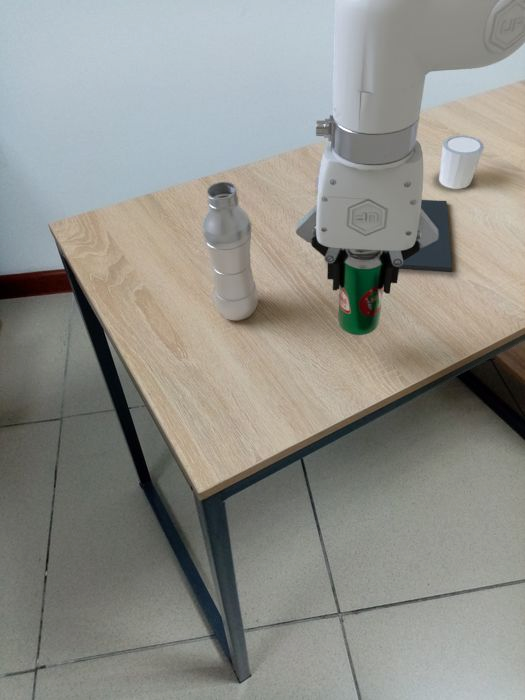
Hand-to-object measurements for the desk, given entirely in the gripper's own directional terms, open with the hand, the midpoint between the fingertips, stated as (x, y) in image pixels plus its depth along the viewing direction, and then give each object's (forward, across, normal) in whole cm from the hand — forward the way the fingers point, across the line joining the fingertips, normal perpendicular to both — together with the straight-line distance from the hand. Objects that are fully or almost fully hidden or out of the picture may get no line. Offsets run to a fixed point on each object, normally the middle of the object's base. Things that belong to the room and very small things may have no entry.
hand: (361, 282), depth 61 cm
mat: (+13, +4, +28) cm, 31 cm away
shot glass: (+14, +15, +44) cm, 49 cm away
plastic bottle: (+13, -18, +6) cm, 23 cm away
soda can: (+7, 0, 0) cm, 7 cm away
